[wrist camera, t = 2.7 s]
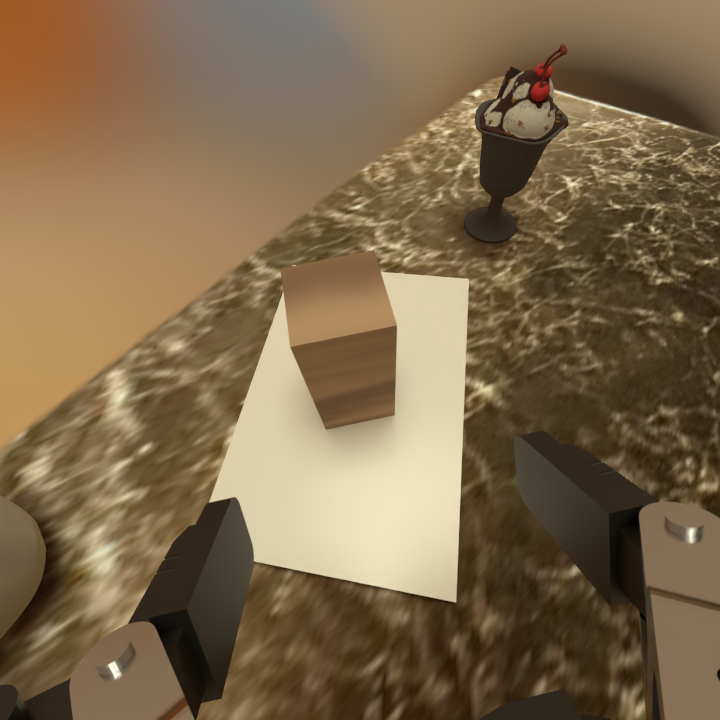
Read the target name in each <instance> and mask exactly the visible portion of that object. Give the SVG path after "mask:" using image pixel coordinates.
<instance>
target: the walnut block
mask: <svg viewBox="0 0 720 720" xmlns="http://www.w3.org/2000/svg"><path fill="white" fill-rule="evenodd" d="M281 275H282V283H283V292H284V300H285V309H286V317H287V325H288V334H289V342H290V348H291V350H292V353H293V355H294V357H295V360H296V362H297V364H298V366H299V369H300V371H301V373H302V376H303V378H304V380H305V383H306V385H307V387H308V390H309V392H310V394H311V396H312V399H313V401H314V403H315V406H316V408H317V410H318V413H319V415H320V417H321V420H322V422H323V424H324V426H325V429H326V430H327V429H332V428H337V427H342V426H346V425H351V424H356V423H360V422H365V421H370V420H375V419H379V418H384V417H389V416H393V415H395V387H396V349H397V323H396V320H395V317H394V314H393V310H392V307H391V304H390V301H389V297H388V294H387V291H386V287H385V284H384V281H383V278H382V274H381V271H380V268H379V265H378V261H377V258H376V255H375V252H374V250H373V251H368V252H363V253H357V254H352V255H347V256H342V257H337V258H332V259H327V260H322V261H316V262H311V263H306V264H301V265H296V266H291V267H286V268H281Z"/></svg>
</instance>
